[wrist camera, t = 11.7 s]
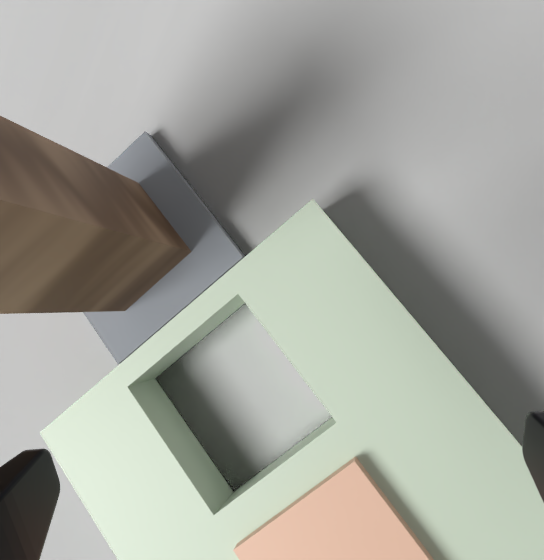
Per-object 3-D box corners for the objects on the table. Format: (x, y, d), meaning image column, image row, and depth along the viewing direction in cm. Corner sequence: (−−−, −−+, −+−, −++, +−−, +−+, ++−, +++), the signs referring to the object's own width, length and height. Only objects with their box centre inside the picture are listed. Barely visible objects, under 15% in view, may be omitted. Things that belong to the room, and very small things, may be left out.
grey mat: (246, 258, 22) (242, 257, 22) (124, 362, 24) (117, 364, 23) (151, 135, 24) (144, 131, 23) (41, 239, 25) (33, 238, 25)
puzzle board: (585, 523, 18) (633, 577, 15) (270, 727, 21) (244, 816, 17) (321, 210, 22) (307, 191, 18) (74, 419, 24) (17, 440, 20)
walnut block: (191, 251, 22) (-118, 168, 9) (125, 311, 23) (-257, 318, 9) (138, 183, 23) (-217, 10, 10) (76, 242, 24) (-339, 159, 10)
